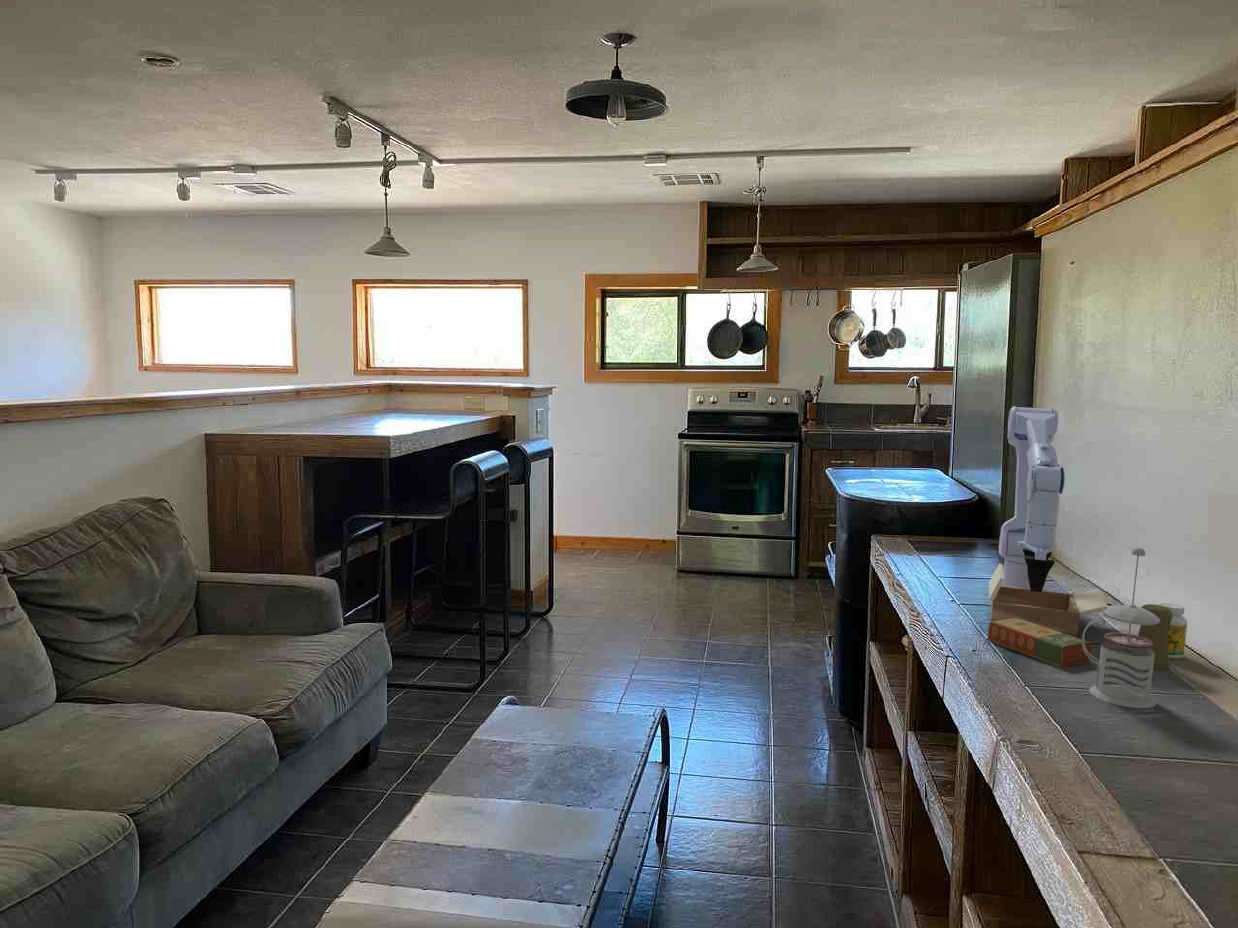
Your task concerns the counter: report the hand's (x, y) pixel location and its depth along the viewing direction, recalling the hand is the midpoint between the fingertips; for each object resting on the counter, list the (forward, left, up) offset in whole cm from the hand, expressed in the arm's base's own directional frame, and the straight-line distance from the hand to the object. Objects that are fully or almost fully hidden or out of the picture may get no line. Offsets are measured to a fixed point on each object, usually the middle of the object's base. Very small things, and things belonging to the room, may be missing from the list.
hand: (1034, 586), depth 189 cm
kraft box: (0, 0, -7) cm, 7 cm away
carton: (+21, 0, -8) cm, 22 cm away
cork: (+19, +19, -8) cm, 28 cm away
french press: (+40, +11, -8) cm, 42 cm away
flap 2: (0, +10, -1) cm, 10 cm away
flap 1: (0, -7, 0) cm, 7 cm away
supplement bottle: (+11, +23, -8) cm, 27 cm away
